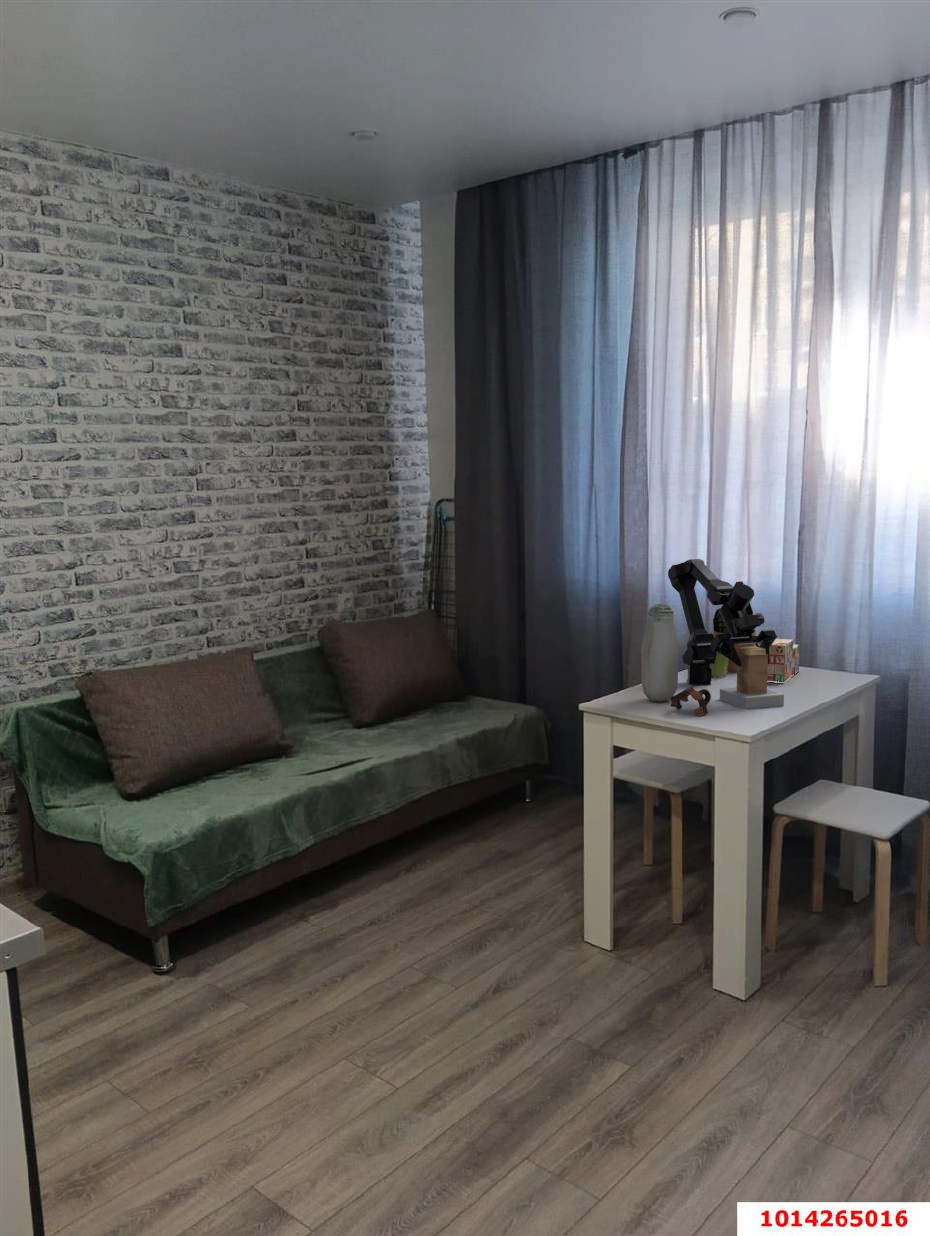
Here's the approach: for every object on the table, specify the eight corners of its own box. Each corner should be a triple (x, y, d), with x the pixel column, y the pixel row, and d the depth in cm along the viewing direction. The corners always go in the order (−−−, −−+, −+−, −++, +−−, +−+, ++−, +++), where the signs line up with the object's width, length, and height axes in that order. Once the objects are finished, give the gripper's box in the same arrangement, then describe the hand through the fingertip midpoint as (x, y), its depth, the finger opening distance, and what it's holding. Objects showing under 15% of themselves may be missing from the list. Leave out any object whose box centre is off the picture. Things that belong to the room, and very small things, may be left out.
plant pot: (736, 677, 334) (736, 650, 333) (708, 679, 332) (708, 652, 331) (724, 672, 343) (724, 646, 342) (696, 673, 341) (697, 647, 340)
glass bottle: (666, 705, 294) (667, 607, 291) (635, 701, 301) (635, 604, 297) (684, 700, 302) (685, 603, 298) (653, 695, 309) (653, 601, 305)
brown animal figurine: (693, 720, 279) (678, 693, 280) (674, 729, 287) (659, 702, 288) (724, 703, 284) (710, 676, 286) (704, 712, 293) (690, 686, 294)
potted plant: (727, 664, 356) (728, 591, 353) (763, 669, 346) (764, 594, 343) (704, 670, 347) (705, 595, 344) (740, 675, 337) (741, 598, 334)
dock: (719, 699, 302) (719, 687, 302) (756, 695, 306) (756, 684, 305) (745, 708, 289) (745, 697, 289) (783, 705, 292) (784, 694, 292)
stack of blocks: (779, 671, 344) (780, 634, 343) (799, 672, 341) (800, 635, 340) (763, 682, 326) (764, 643, 324) (784, 684, 323) (785, 644, 321)
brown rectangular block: (736, 690, 299) (737, 647, 297) (755, 689, 301) (756, 646, 299) (747, 694, 293) (749, 650, 292) (766, 693, 295) (768, 649, 293)
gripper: (716, 605, 295) (736, 649, 286) (774, 602, 300) (795, 645, 291) (701, 629, 303) (720, 673, 294) (758, 625, 309) (779, 668, 300)
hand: (754, 664), depth 295 cm, fingers open, 9 cm apart
